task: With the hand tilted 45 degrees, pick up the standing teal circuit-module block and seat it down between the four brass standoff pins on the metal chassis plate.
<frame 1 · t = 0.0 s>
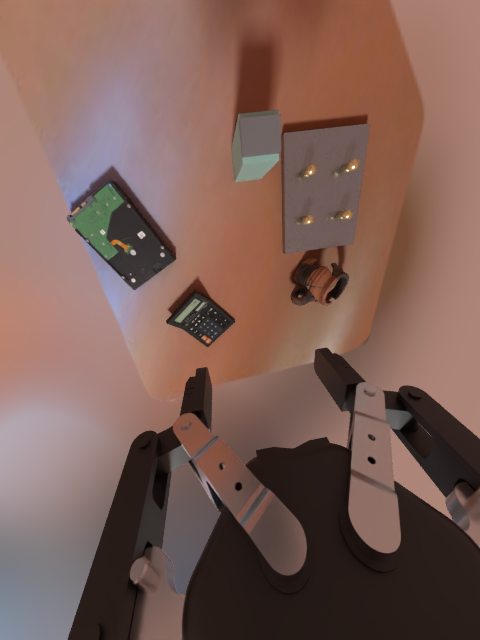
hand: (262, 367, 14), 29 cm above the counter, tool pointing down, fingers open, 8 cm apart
module: (246, 164, 32), on the counter
calculator: (202, 317, 44), on the counter
disk drive: (129, 240, 36), on the counter
chassis: (319, 196, 36), on the counter
pottery mug: (308, 280, 43), on the counter
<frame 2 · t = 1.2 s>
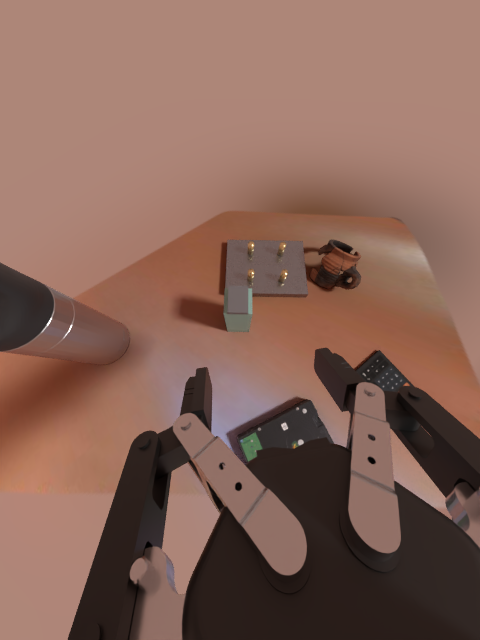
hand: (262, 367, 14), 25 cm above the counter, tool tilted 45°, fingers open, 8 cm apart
module: (238, 321, 41), on the counter
calculator: (374, 387, 38), on the counter
disk drive: (285, 444, 35), on the counter
chassis: (264, 269, 45), on the counter
pottery mug: (330, 275, 45), on the counter
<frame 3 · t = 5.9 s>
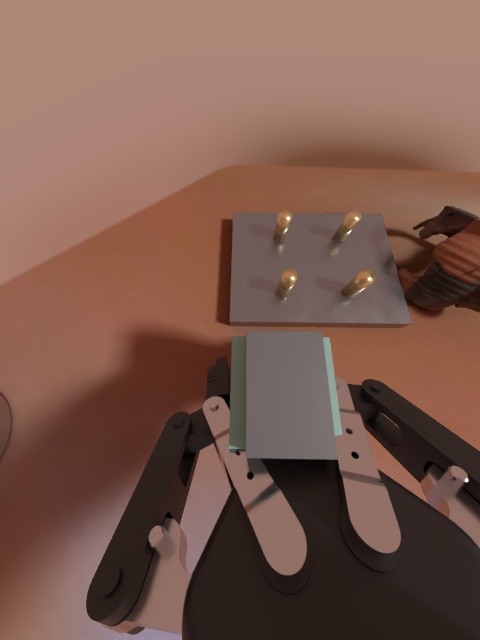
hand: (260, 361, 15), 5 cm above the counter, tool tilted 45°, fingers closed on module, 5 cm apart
module: (259, 385, 19), on the counter, touching gripper
chassis: (308, 269, 23), on the counter
pottery mug: (430, 282, 22), on the counter
when the fingers open (8 cm above the counter, at t = 10.6 s): module drops 1 cm, resting on chassis.
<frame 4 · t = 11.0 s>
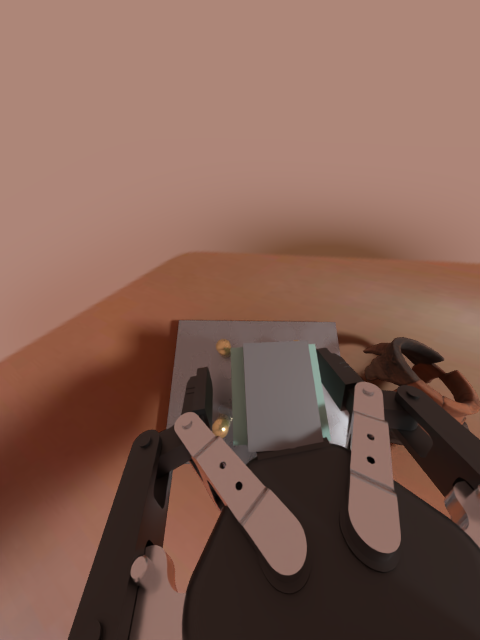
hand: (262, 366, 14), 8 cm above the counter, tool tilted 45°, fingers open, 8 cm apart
module: (258, 386, 20), point 1 cm above the counter, touching chassis
chassis: (256, 385, 21), on the counter
pottery mug: (385, 401, 21), on the counter, touching chassis
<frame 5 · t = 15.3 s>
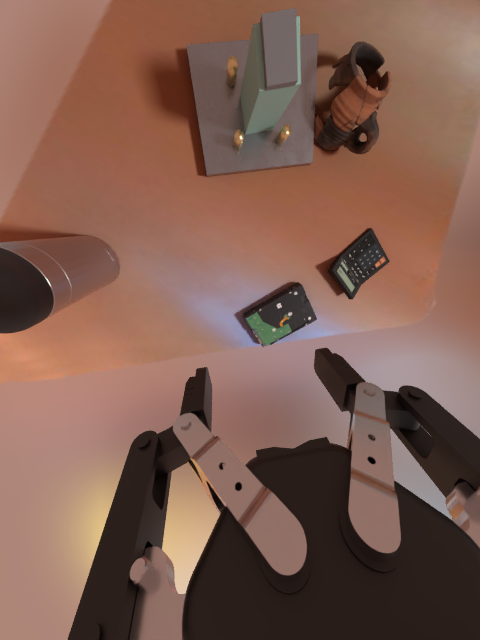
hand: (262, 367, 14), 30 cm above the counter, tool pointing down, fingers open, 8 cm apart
module: (257, 112, 29), point 1 cm above the counter, touching chassis
calculator: (354, 264, 44), on the counter
disk drive: (278, 313, 47), on the counter
chassis: (255, 116, 30), on the counter
pottery mug: (339, 121, 32), on the counter
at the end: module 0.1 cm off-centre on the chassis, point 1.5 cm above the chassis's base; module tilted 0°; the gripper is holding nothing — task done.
